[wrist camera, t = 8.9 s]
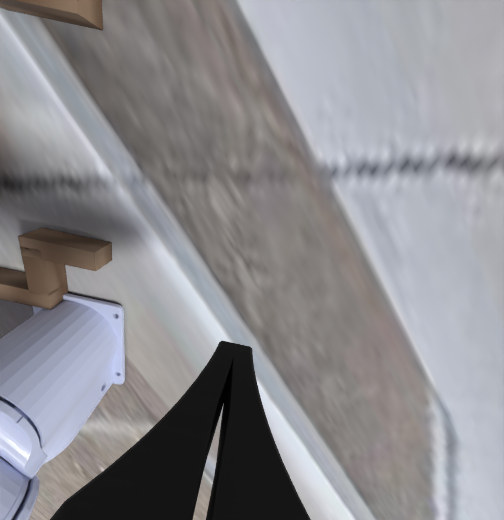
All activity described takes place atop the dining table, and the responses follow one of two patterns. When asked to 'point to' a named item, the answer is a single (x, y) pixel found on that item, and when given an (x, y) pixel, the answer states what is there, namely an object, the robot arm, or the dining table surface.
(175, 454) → the robot arm
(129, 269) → the dining table surface
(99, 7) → the frame
